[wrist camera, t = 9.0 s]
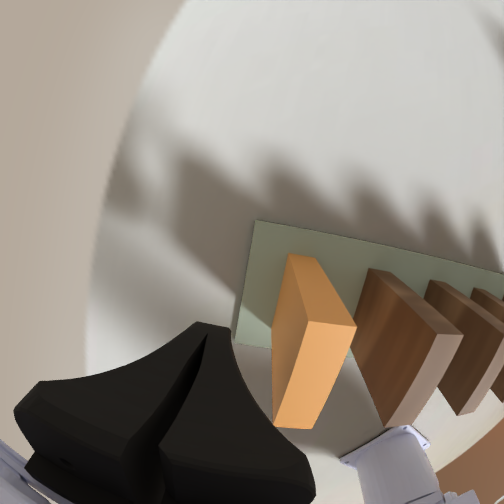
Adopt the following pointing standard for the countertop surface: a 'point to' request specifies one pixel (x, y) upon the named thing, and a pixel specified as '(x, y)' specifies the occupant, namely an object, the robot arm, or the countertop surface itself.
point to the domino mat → (338, 273)
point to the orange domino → (306, 343)
